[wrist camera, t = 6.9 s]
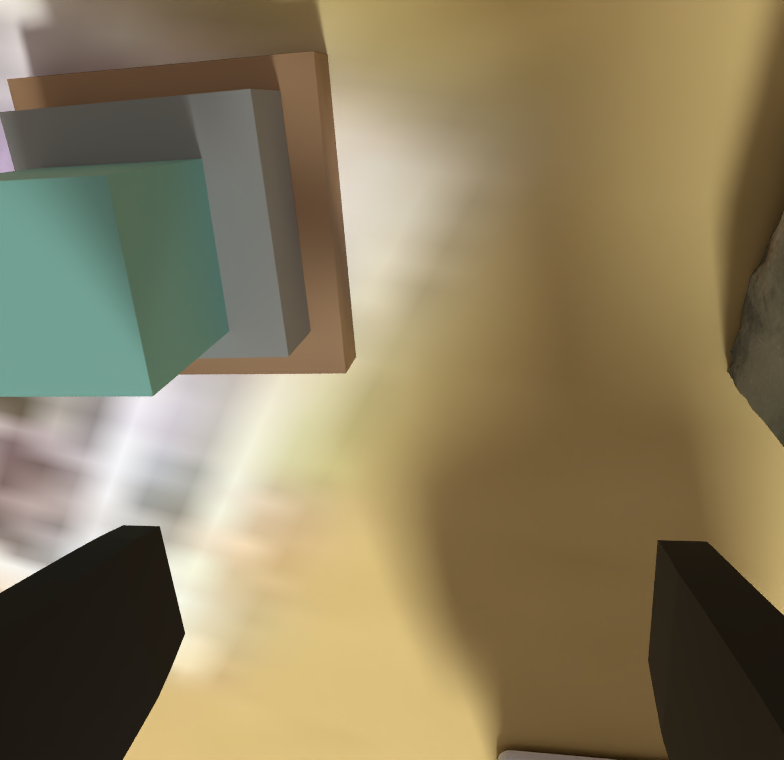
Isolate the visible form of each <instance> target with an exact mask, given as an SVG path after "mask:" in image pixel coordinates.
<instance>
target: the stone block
mask: <svg viewBox="0 0 784 760" xmlns="http://www.w3.org/2000/svg"><path fill="white" fill-rule="evenodd" d="M741 323H742V328H741V329H740V331H739V332H738V336H737V340H736V342H735V344H734V346H733V349H732V350H731V351H730V352H731V353H732V356H733V361H732V364H731V367H730V368H729V370H728V371H727V372H728V373H729V374H730V376H731V378H732V379H733V381H734V384H735V386H736V387H737V389H738V391H739V392H740V393H741V394H742V395H743V396H744V397H745V398H746V399H747V401H748V403H749V405H750V406H751V408H752V409H753V410H754V411H755V412H756V413H757V414H758V415H759V417H760V418H761V419H762V420H763V421H764V422H765V423H766V425H767V426H768V427H769V429H770V430H771V431H772V432H773V434H774V435H775V436H776V437H777V439H778V440H779V441H780V443H781V444H782V445H783V447H784V212H783V213H782V217H781V219H780V222H779V224H778V226H777V227H776V229H775V230H774V233H773V235H772V237H771V239H770V243H769V245H768V247H767V249H766V253H765V255H764V257H763V259H762V262H761V264H760V266H759V267H758V268H757V269H756V270H755V271H754V272H753V274H752V276H751V278H750V282H749V287H748V291H747V294H746V298H745V302H744V307H743V312H742V317H741Z"/></svg>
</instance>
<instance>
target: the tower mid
mask: <svg viewBox="0 0 784 760" xmlns="http://www.w3.org/2000/svg"><path fill="white" fill-rule="evenodd" d="M0 118H1V121H2V125H3V129H4V132H5V136H6V140H7V143H8V147H9V151H10V154H11V158H12V162H13V165H14V169H15V171H20V170H27V169H35V168H49V167H66V166H83V165H100V164H118V163H135V162H152V161H169V160H186V159H202V162H203V168H204V174H205V181H206V187H207V193H208V200H209V206H210V212H211V219H212V225H213V231H214V237H215V244H216V250H217V256H218V263H219V269H220V275H221V282H222V288H223V294H224V300H225V307H226V313H227V319H228V326H229V332H228V333H227V334H226V335H224V336H223V337H222V338H221V339H220V340H218V341H217V342H216V343H215V344H214V345H213V346H211V347H210V348H209V349H208V350H207V351H206V352H204V353H203V354H202V355H201V356H200V357H198V358H197V359H202V358H255V357H289V356H290V355H291V354H292V352H293V351H294V350H295V349H296V348H297V347H298V346H299V344H300V343H301V342H302V341H303V340H304V339H305V338H306V336H307V335H308V334H309V333H310V332H311V329H310V321H309V313H308V306H307V298H306V290H305V282H304V274H303V266H302V259H301V251H300V243H299V235H298V227H297V219H296V212H295V204H294V196H293V188H292V180H291V173H290V165H289V157H288V149H287V141H286V133H285V126H284V118H283V110H282V102H281V94H280V91H278V90H262V89H243V90H232V91H221V92H211V93H200V94H189V95H179V96H168V97H157V98H147V99H136V100H125V101H115V102H104V103H93V104H82V105H72V106H61V107H50V108H40V109H29V110H18V111H8V112H0Z"/></svg>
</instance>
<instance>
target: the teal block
mask: <svg viewBox="0 0 784 760" xmlns="http://www.w3.org/2000/svg"><path fill="white" fill-rule="evenodd" d="M228 332H229V326H228V319H227V313H226V307H225V300H224V294H223V288H222V282H221V275H220V269H219V263H218V256H217V250H216V244H215V237H214V231H213V225H212V219H211V212H210V206H209V200H208V193H207V187H206V181H205V174H204V168H203V162H202V159H186V160H169V161H152V162H135V163H118V164H100V165H83V166H66V167H49V168H35V169H27V170H20V171H12V172H5V173H0V397H26V396H154V395H155V394H156V393H157V392H158V391H160V390H161V389H162V388H163V387H164V386H165V385H167V384H168V383H169V382H170V381H171V380H173V379H174V378H175V377H176V376H177V375H178V374H180V373H181V372H182V371H183V370H184V369H185V368H187V367H188V366H189V365H190V364H191V363H193V362H194V361H195V360H196V359H197V358H198V357H200V356H201V355H202V354H203V353H204V352H206V351H207V350H208V349H209V348H210V347H211V346H213V345H214V344H215V343H216V342H217V341H218V340H220V339H221V338H222V337H223V336H224V335H226V334H227V333H228Z"/></svg>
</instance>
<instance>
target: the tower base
mask: <svg viewBox="0 0 784 760" xmlns="http://www.w3.org/2000/svg"><path fill="white" fill-rule="evenodd" d="M7 81H8V85H9V89H10V93H11V97H12V100H13V104H14V108H15V111H18V110H29V109H40V108H50V107H61V106H72V105H82V104H93V103H104V102H115V101H125V100H136V99H147V98H157V97H168V96H179V95H189V94H200V93H211V92H221V91H232V90H243V89H262V90H278V91H280V94H281V102H282V110H283V118H284V126H285V133H286V141H287V149H288V157H289V165H290V173H291V180H292V188H293V196H294V204H295V212H296V219H297V227H298V235H299V243H300V251H301V259H302V266H303V274H304V282H305V290H306V298H307V306H308V313H309V321H310V329H311V332H310V333H309V334H308V335H307V336H306V338H305V339H304V340H303V341H302V342H301V343H300V344H299V346H298V347H297V348H296V349H295V350H294V351H293V352H292V354H291V355H290V356H289V357H255V358H202V359H196V360H195V361H194V362H193V363H191V364H190V365H189V366H188V367H187V368H185V369H184V370H183V371H182V372H181V373H180V374H312V373H346V372H347V371H348V369H349V367H350V366H351V364H352V362H353V361H354V359H355V358H356V352H355V341H354V331H353V320H352V310H351V299H350V288H349V278H348V267H347V256H346V246H345V235H344V225H343V214H342V203H341V193H340V182H339V172H338V161H337V150H336V140H335V129H334V119H333V108H332V97H331V87H330V76H329V65H328V55H325V54H322V53H319V52H315V51H309V52H298V53H287V54H277V55H266V56H255V57H244V58H233V59H222V60H212V61H201V62H190V63H179V64H168V65H157V66H146V67H136V68H125V69H114V70H103V71H92V72H81V73H70V74H60V75H49V76H38V77H27V78H16V79H7Z"/></svg>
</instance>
